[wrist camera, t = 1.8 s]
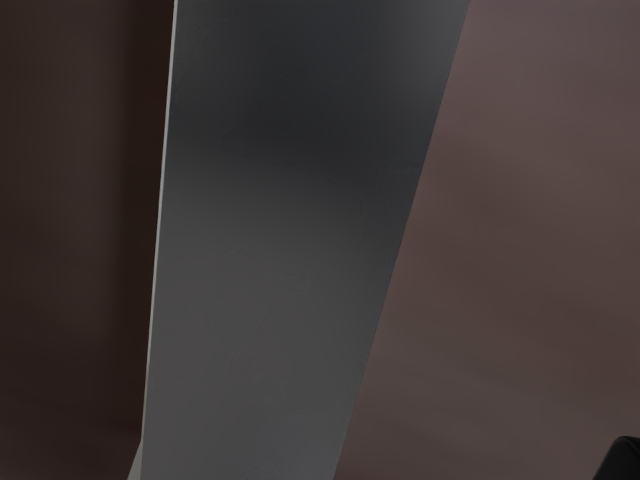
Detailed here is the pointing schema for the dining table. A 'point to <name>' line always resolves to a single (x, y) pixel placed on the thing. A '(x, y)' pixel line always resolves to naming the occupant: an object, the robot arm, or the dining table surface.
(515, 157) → the dining table surface
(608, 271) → the dining table surface
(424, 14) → the metal rail
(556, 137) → the dining table surface
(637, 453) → the robot arm
